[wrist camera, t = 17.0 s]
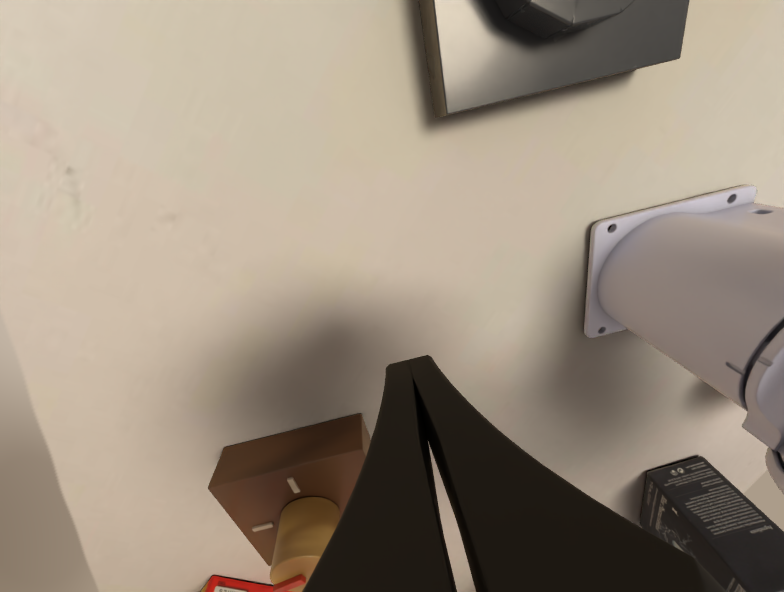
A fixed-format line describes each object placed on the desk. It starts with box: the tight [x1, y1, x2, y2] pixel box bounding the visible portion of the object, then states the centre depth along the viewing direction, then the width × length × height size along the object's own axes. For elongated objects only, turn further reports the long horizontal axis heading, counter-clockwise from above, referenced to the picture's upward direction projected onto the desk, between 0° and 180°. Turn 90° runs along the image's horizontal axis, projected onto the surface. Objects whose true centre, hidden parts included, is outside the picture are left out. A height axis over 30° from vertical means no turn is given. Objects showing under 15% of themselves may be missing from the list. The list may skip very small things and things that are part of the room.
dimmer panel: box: [208, 414, 371, 566], centre depth 24 cm, size 10×10×3 cm
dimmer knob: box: [270, 497, 340, 592], centre depth 21 cm, size 4×4×4 cm
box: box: [640, 456, 784, 592], centre depth 28 cm, size 9×6×10 cm, turn 16°
